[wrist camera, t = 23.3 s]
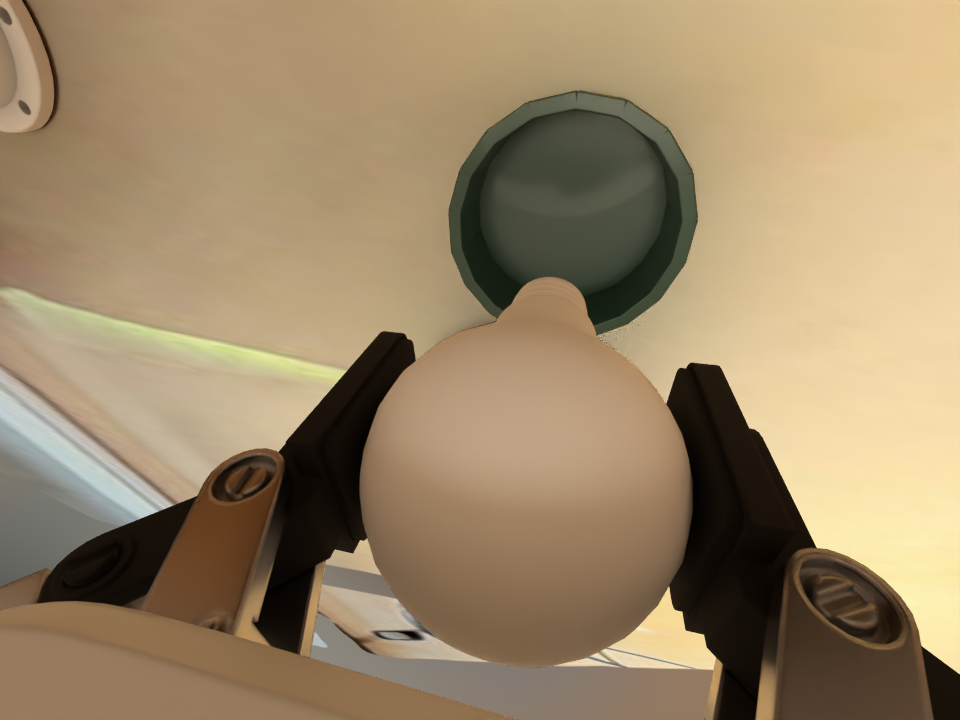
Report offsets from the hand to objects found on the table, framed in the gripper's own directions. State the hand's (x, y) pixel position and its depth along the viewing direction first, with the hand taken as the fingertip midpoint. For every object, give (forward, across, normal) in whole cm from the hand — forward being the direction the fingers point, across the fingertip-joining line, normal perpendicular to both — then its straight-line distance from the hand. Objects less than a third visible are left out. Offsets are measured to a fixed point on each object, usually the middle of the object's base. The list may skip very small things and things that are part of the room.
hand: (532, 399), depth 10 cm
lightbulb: (+6, 0, 0) cm, 6 cm away
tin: (+18, 0, 0) cm, 18 cm away
